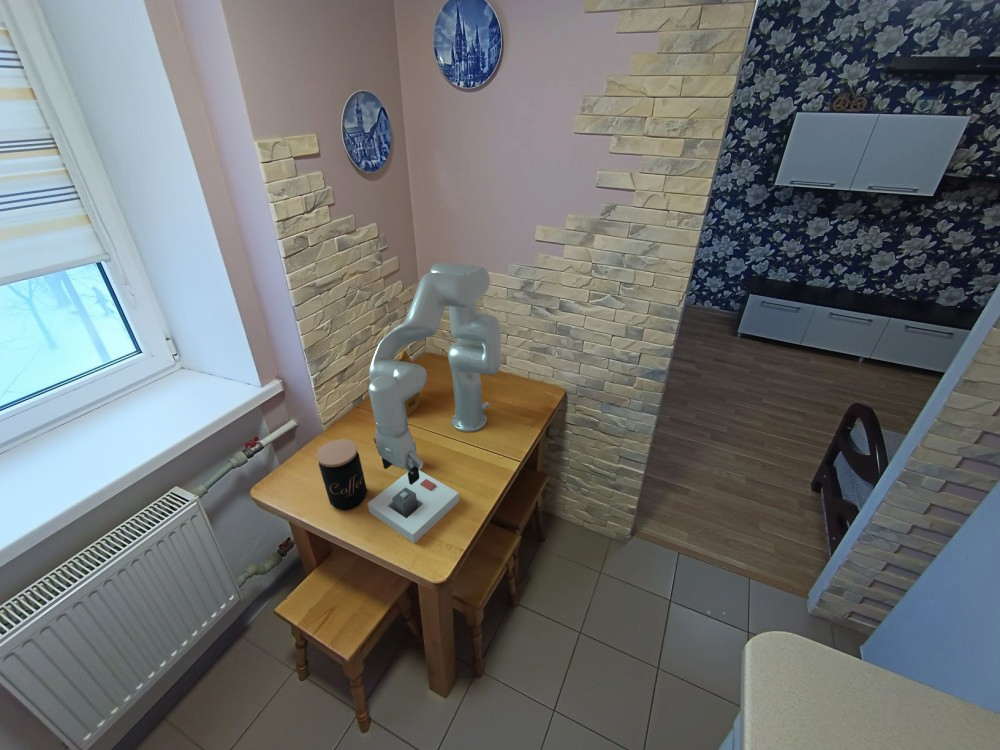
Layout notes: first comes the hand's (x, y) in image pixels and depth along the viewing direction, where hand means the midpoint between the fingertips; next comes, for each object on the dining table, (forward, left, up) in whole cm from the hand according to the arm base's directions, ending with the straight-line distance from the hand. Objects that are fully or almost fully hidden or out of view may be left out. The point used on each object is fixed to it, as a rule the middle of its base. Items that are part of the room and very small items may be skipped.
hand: (401, 473), depth 121 cm
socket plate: (-2, 0, -15) cm, 15 cm away
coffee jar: (+7, -18, -15) cm, 24 cm away
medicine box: (-13, -16, -15) cm, 26 cm away
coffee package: (-34, -38, -15) cm, 53 cm away
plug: (+1, 0, -15) cm, 15 cm away
